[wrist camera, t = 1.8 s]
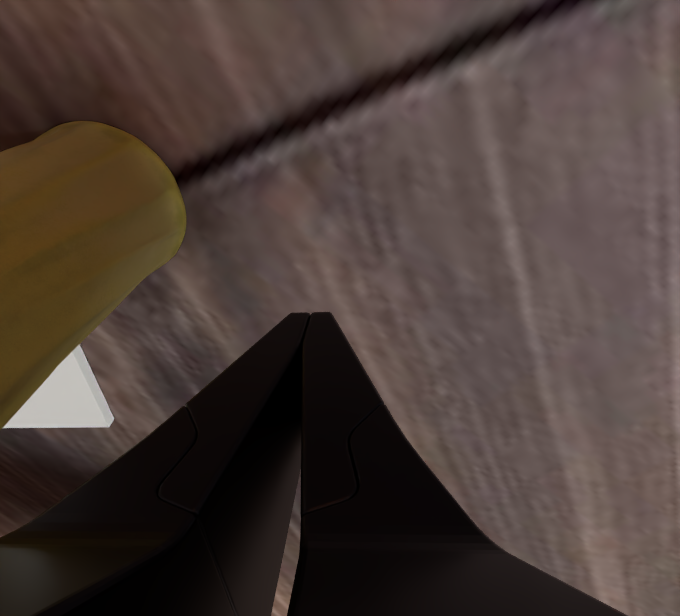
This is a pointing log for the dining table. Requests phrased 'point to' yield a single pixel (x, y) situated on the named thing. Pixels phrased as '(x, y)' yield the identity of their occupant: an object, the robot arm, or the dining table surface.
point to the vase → (75, 243)
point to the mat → (66, 399)
